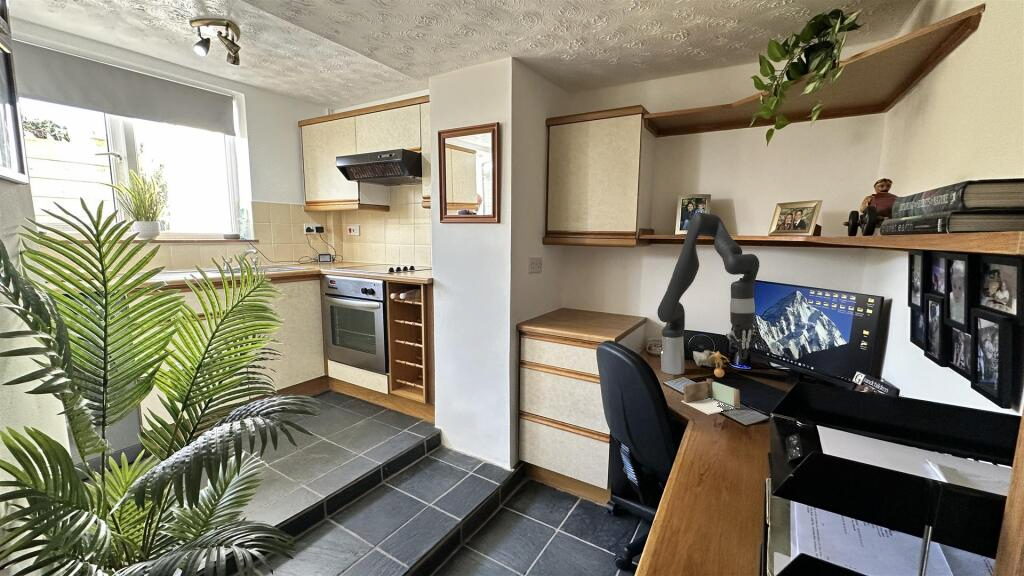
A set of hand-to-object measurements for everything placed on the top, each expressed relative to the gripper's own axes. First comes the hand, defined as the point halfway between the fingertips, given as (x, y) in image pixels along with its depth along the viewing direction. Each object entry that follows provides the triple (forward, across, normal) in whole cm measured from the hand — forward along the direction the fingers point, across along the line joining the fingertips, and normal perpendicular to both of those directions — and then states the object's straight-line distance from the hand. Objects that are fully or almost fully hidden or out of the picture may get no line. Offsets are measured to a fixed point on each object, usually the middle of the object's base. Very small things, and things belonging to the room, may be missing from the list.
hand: (742, 358), depth 140 cm
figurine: (+17, +13, +27) cm, 35 cm away
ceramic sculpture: (+18, +22, +42) cm, 51 cm away
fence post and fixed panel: (+17, -12, +8) cm, 22 cm away
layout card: (+17, -11, +4) cm, 21 cm away
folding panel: (+16, -6, +2) cm, 17 cm away
